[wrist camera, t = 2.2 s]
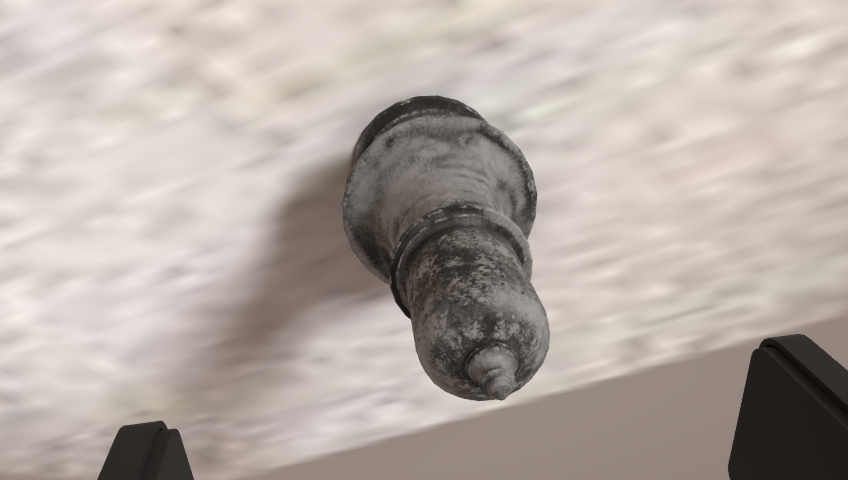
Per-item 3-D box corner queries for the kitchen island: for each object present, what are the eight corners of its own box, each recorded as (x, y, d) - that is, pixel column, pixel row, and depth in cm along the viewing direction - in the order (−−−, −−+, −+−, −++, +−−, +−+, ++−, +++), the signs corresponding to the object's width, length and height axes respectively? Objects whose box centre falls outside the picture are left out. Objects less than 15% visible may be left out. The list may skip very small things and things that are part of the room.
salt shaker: (502, 73, 21) (667, 223, 10) (516, 230, 23) (657, 483, 13) (327, 102, 21) (302, 287, 10) (360, 258, 23) (370, 538, 12)
